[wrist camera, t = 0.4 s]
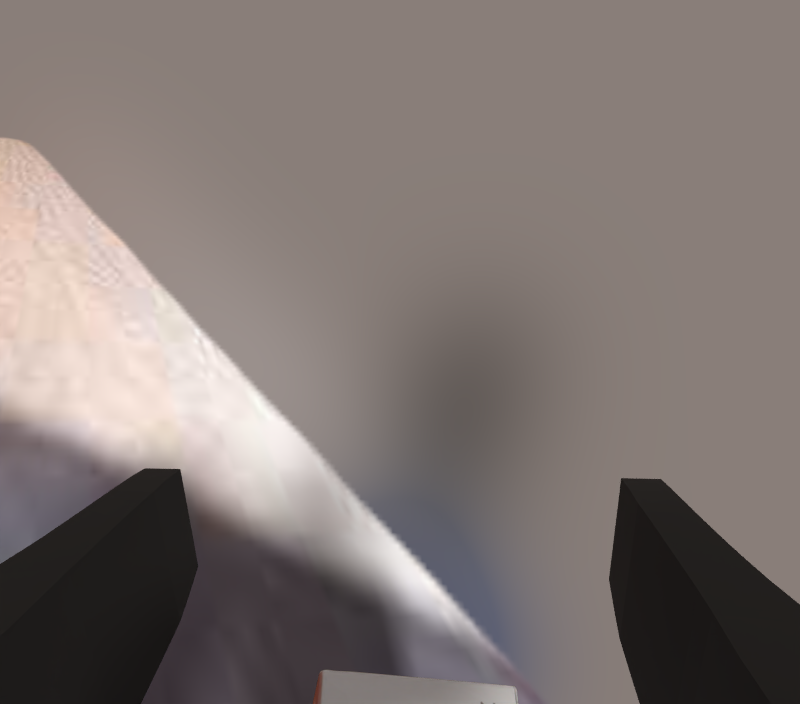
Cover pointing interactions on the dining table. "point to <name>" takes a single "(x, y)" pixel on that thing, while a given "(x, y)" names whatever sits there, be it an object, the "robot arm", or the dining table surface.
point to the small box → (405, 690)
